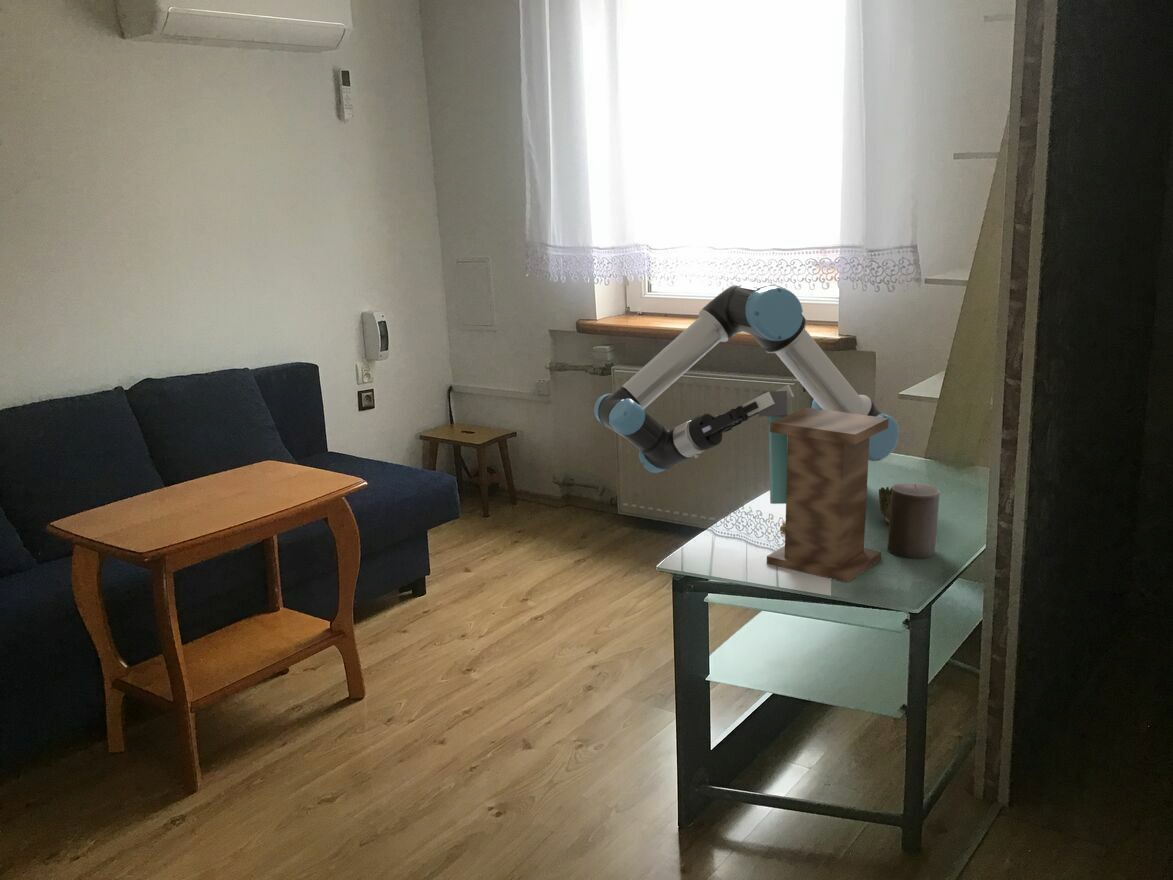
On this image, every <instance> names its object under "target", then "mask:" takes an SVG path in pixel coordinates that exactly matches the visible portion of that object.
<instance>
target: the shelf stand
mask: <svg viewBox="0 0 1173 880" xmlns="http://www.w3.org/2000/svg"><path fill="white" fill-rule="evenodd" d="M888 423H889V418H882V417H875V416H867V415H859V414H852V413H844V412H837V411H829V410H821V409H814V408H812V407H805V408H803V409H800V410H797V411H795V412H793V413H790V414H787V416H785V417H782V418H780V419H777V420H775V421H772V422H770V432H773V433H780V434H787V453H788V457H787V490H786V504H785V521H786V523H785V533H784V545H783V546H781V547H780V548H777V550H775V551H774V552H771V553H769V554H768V555H766V564H767V565H771V566H775V567H780V568H784V569H788V570H793V571H796V572H801V573H805V574H810V575H814V576H819V577H822V578H826V577H827V579H830V578H832V579H831V580H834V579H836V580H835V581H840V582H843V581H844V583H847V582H849V583H850V582H851V581H853V580H854V579H855V577H856V578H857V577H858V576H860V575H861V574H862V573H864V572H865V571H867V570H868V569H869V568H870V566H871V565H872V566H873V565H874V563H875V562H876V563H878V562H879V561H881V559H882V551H880V550H876V549H870V548H867V547H865V535H866V533H865V532H866V518H867V517H866V515H867V513H866V512H867V495H868V494H867V492H868V475H869V460H868V458H869V438H870V437H871V436H873V435H875V434H877V433H879V432H881V431H883V430H885V429H887V428H888ZM877 561H878V562H877ZM876 563H875V564H876ZM872 566H871V567H872ZM866 569H867V570H866ZM863 571H864V572H863Z"/></svg>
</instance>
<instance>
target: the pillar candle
mask: <svg viewBox="0 0 1173 880" xmlns="http://www.w3.org/2000/svg"><path fill="white" fill-rule="evenodd" d="M891 487H892V494H891V506H890V519H889V525H888V533H887V551H888V550H889V551H890V552H889V551H888V552H889V553H891V554H893V555H895V556H897V557H900V556H901V557H900V558H907V559H926V558H927V557H928V558H930V556H931V557H932V555H933V556H934V555H935V553H936V541H937V540H936V539H937V531H938V530H937V529H938V528H937V527H938V518H939V507H940V505H939V502H940V494H941V490H939V489H938V488H937V487H935V486H933V485H928V484H924V483H918V482H901V483H897V484H893V485H892V486H891Z"/></svg>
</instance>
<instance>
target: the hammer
mask: <svg viewBox="0 0 1173 880" xmlns="http://www.w3.org/2000/svg"><path fill="white" fill-rule="evenodd" d="M767 392H770V394H771V397H772V399H773V401H774V403H775V404H773V405H771V406H769V407H767V408H765V409H763V410H761V411H759V414H758V418H768V419H767V421H768V426H767V427H768V457H769V458H768V459H769V466H768V467H769V499H770V501H769V502H770V504H771V505H777V504H779V505H781V504H782V505H786V490H787V457H788V435H787V434H780V433H773V432H770V422H772V421H775V420H777V419H780V418H782V417H785V416H787V415H788V400H787V391H776V390H775V391H774V390H772V391H771V390H769V391H760V392H759V393H758V395H757V397H759V396H761V395H763V394H765V393H767Z"/></svg>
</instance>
